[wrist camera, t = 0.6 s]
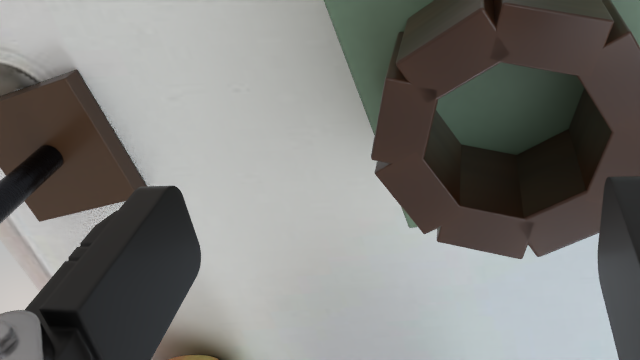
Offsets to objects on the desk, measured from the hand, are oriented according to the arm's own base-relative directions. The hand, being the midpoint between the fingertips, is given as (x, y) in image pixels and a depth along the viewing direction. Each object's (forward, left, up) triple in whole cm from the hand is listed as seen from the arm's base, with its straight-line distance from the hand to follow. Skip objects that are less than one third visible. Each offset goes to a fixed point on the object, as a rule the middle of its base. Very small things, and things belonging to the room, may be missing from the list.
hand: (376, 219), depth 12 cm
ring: (+1, +3, -11) cm, 11 cm away
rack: (+14, -20, -19) cm, 30 cm away
